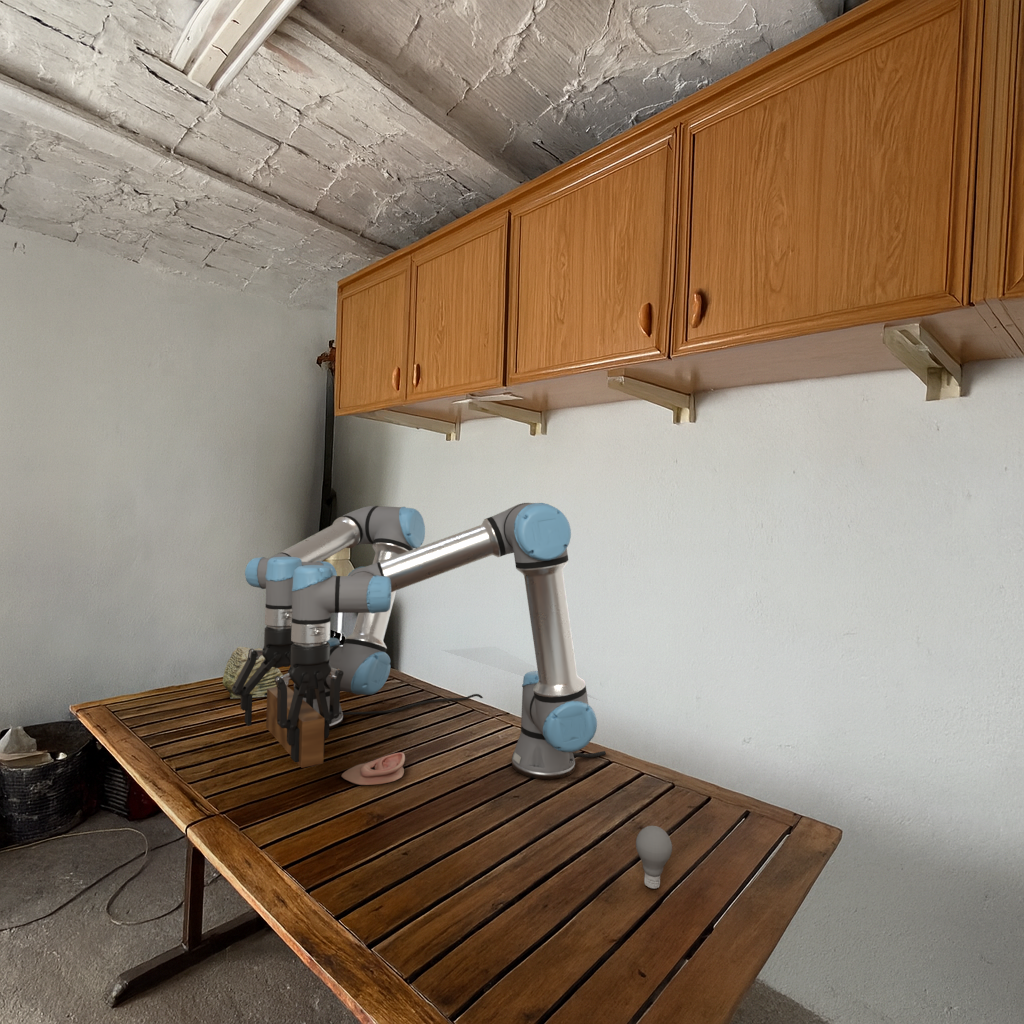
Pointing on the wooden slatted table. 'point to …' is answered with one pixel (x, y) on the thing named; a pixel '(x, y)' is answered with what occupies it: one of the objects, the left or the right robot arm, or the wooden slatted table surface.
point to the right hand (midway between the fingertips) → (307, 756)
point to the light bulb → (653, 853)
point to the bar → (307, 723)
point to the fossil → (236, 666)
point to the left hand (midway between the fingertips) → (279, 718)
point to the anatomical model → (377, 770)
